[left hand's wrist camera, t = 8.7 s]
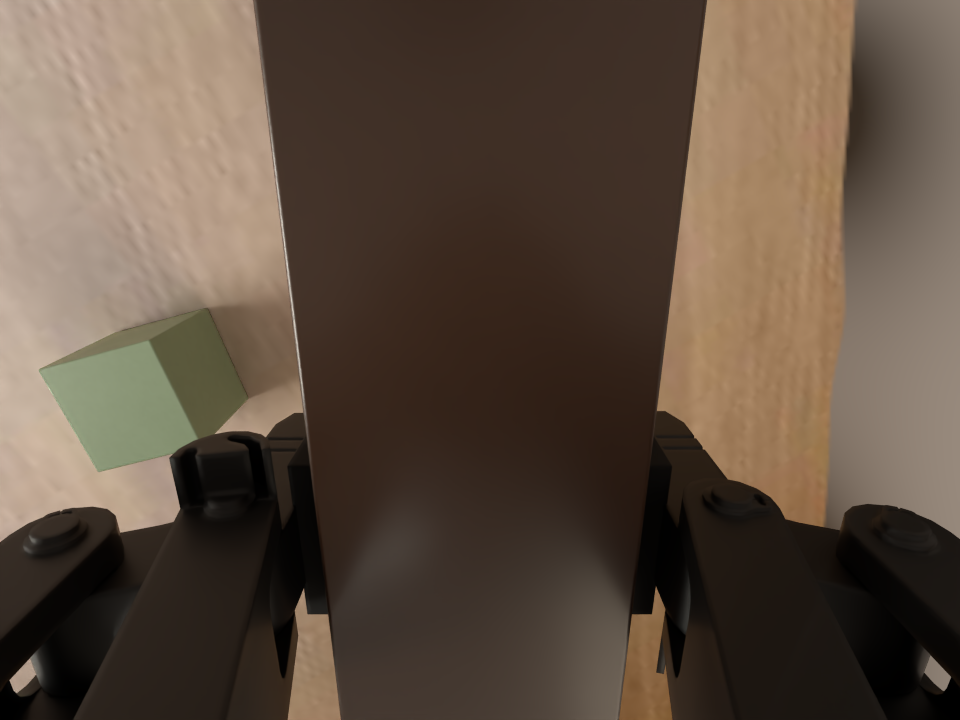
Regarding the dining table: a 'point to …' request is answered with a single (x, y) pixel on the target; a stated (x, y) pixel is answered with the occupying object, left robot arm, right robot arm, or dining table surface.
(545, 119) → the walnut block
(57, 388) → the sage block
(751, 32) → the dining table surface
